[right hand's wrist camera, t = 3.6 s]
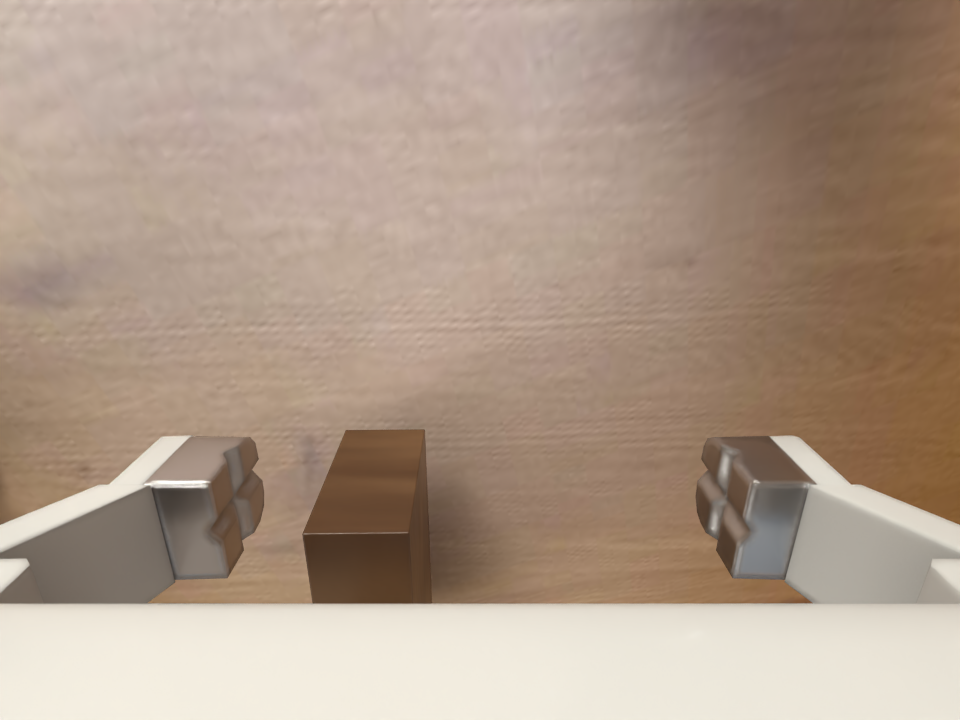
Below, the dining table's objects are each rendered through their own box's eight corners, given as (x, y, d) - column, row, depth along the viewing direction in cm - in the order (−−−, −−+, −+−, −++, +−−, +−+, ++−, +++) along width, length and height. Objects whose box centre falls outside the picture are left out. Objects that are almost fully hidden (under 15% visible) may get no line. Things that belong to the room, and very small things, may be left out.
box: (345, 429, 41) (301, 534, 30) (424, 429, 41) (409, 533, 31) (366, 629, 49) (336, 769, 38) (433, 628, 49) (422, 768, 38)
